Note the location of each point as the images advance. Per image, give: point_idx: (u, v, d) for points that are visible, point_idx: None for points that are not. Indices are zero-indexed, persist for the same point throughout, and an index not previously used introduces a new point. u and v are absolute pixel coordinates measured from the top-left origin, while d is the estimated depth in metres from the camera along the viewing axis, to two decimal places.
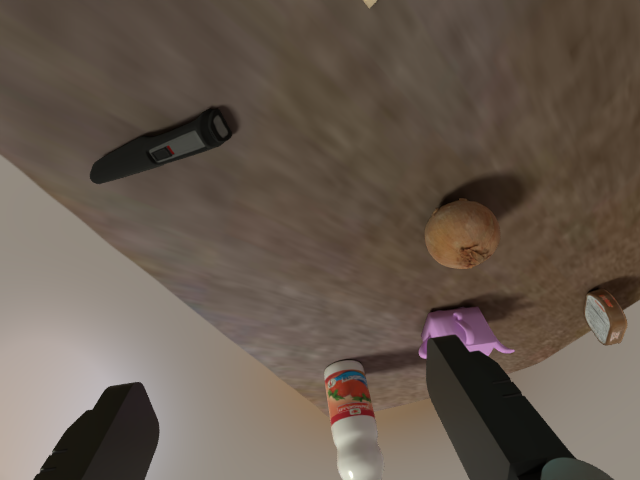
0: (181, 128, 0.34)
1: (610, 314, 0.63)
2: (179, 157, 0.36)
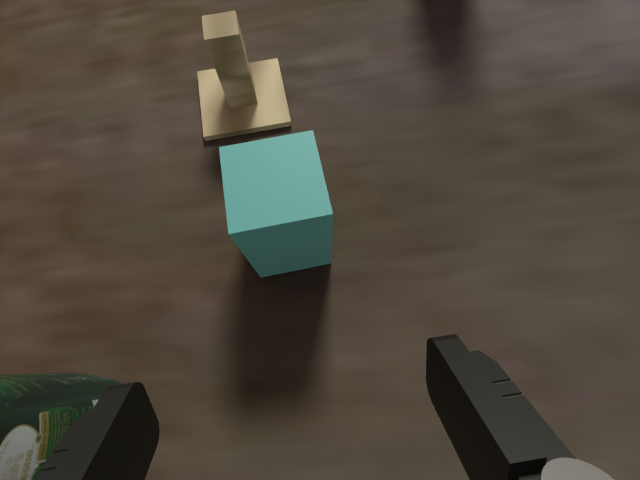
0: None
1: None
2: None
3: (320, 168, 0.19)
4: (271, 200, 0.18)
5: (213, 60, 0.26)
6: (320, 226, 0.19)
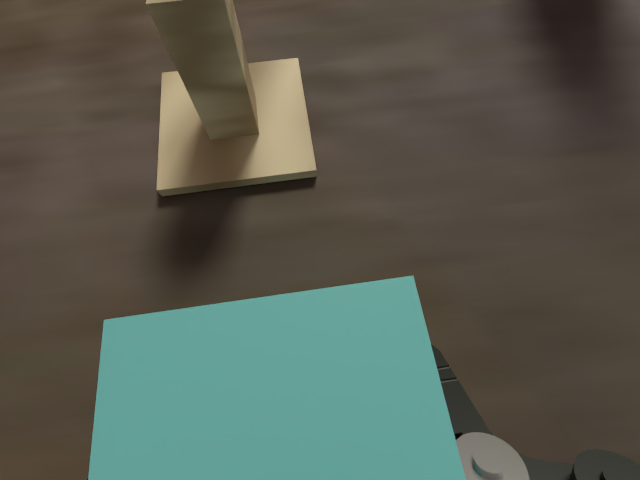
0: None
1: None
2: None
3: (451, 442, 0.05)
4: None
5: (171, 51, 0.13)
6: None
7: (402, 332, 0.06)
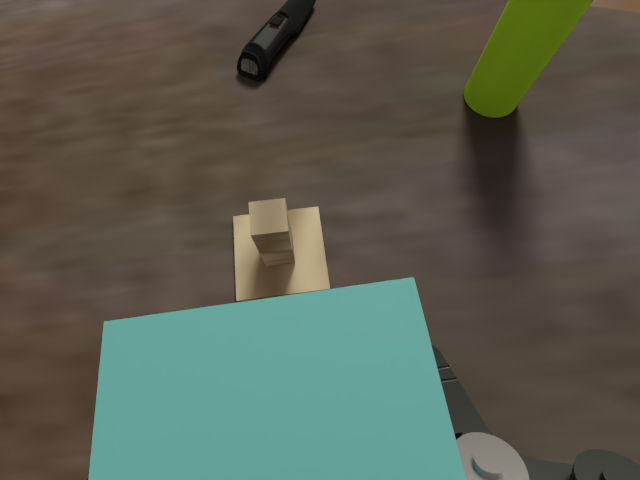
0: (275, 46, 0.38)
1: None
2: (263, 26, 0.39)
3: (452, 445, 0.05)
4: None
5: (256, 244, 0.25)
6: None
7: (403, 334, 0.06)
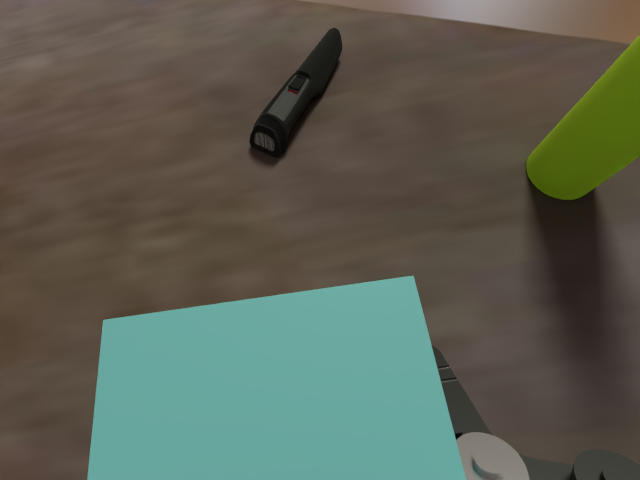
0: (295, 115, 0.32)
1: None
2: (281, 90, 0.32)
3: (451, 443, 0.05)
4: None
5: None
6: None
7: (402, 332, 0.06)
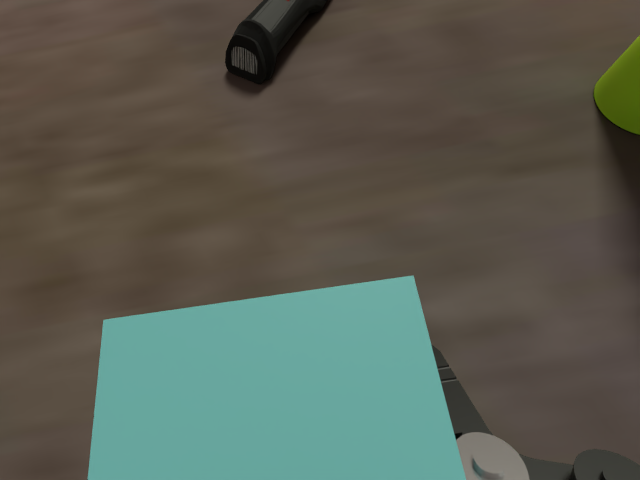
0: (286, 28, 0.24)
1: None
2: None
3: (451, 443, 0.05)
4: None
5: None
6: None
7: (402, 332, 0.06)
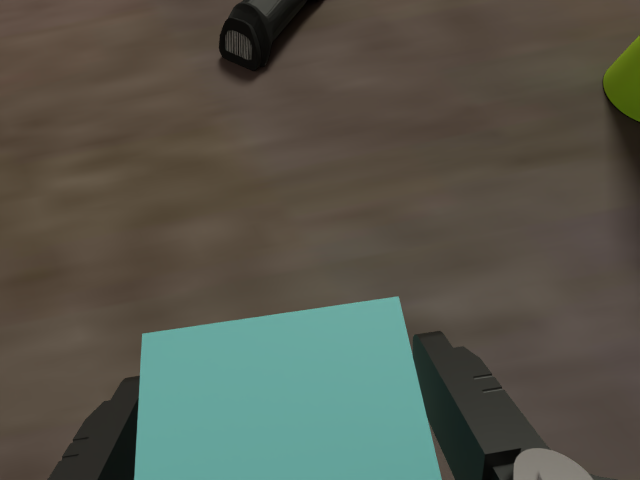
0: (283, 12, 0.23)
1: None
2: None
3: (426, 435, 0.06)
4: None
5: None
6: None
7: (388, 344, 0.07)
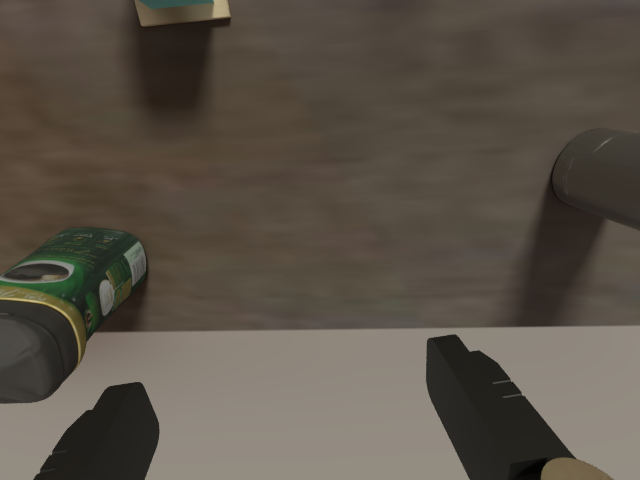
0: None
1: None
2: None
3: None
4: None
5: None
6: None
7: None
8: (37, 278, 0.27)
